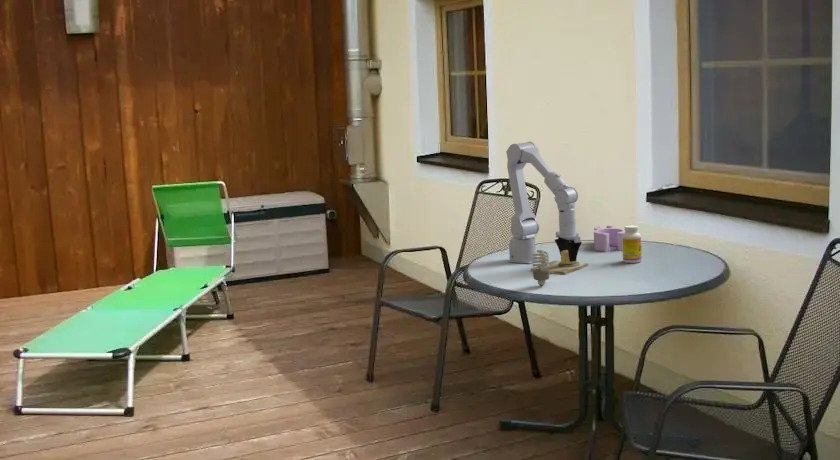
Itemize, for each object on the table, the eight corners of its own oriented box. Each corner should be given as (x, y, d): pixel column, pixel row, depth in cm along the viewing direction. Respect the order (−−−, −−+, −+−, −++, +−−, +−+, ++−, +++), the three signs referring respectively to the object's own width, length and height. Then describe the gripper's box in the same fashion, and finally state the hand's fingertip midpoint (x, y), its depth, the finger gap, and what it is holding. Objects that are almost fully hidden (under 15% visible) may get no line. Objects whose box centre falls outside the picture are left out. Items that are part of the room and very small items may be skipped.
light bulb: (531, 284, 320) (530, 249, 318) (548, 283, 320) (546, 247, 318) (535, 288, 314) (533, 252, 312) (552, 287, 315) (550, 250, 313)
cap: (576, 263, 340) (575, 252, 339) (560, 264, 341) (560, 253, 340) (576, 260, 345) (576, 249, 345) (561, 261, 346) (561, 250, 346)
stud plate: (530, 271, 341) (530, 261, 340) (554, 262, 353) (554, 253, 352) (565, 274, 332) (564, 264, 331) (588, 265, 344) (588, 256, 343)
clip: (588, 243, 386) (587, 226, 385) (618, 241, 386) (618, 224, 385) (598, 253, 366) (598, 235, 365) (631, 250, 367) (630, 232, 366)
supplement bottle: (641, 263, 342) (641, 227, 340) (622, 263, 344) (621, 228, 341) (641, 259, 349) (640, 224, 347) (622, 260, 350) (621, 225, 348)
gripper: (587, 223, 335) (588, 261, 338) (567, 218, 349) (568, 255, 351) (569, 225, 333) (571, 264, 335) (549, 220, 347) (551, 257, 349)
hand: (568, 259), depth 343 cm, fingers closed on cap, 5 cm apart
